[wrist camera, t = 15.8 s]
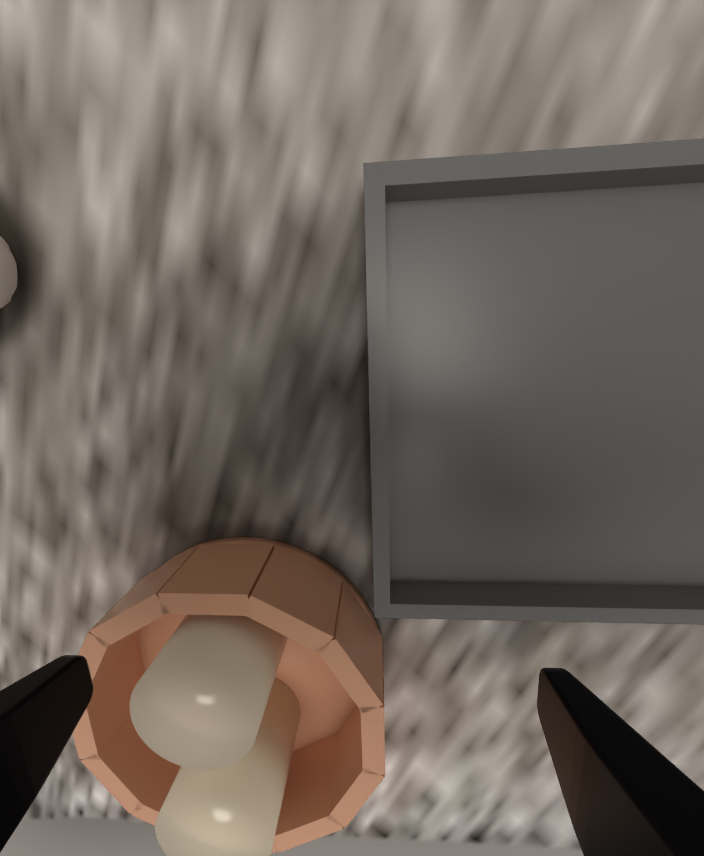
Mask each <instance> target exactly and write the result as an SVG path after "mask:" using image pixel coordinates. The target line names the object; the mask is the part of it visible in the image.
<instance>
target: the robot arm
mask: <svg viewBox="0 0 704 856" xmlns="http://www.w3.org/2000/svg"><path fill="white" fill-rule="evenodd" d="M93 689H94V687H93V682H92V678H91V674H90V670H89V666H88V662H87V660H86V658H85V657H84V656H81V655H64V656H61V657H59V658H57V659H55V660H53V661H52V662H50V663H48V664H46V665H45V666H43V667H41V668H39V669H38V670H36V671H34V672H32V673H31V674H29V675H27V676H25V677H24V678H22V679H20V680H18V681H17V682H15V683H13V684H11V685H10V686H8V687H6V688H5V689H3V690H1V691H0V852H1V851H2V849H3V847H4V846H5V844H6V843H7V841H8V840H9V838H10V837H11V835H12V834H13V832H14V831H15V829H16V828H17V826H18V824H19V823H20V821H21V820H22V818H23V817H24V815H25V814H26V812H27V811H28V809H29V807H30V806H31V804H32V803H33V801H34V799H35V798H36V796H37V795H38V793H39V791H40V789H41V788H42V786H43V784H44V783H45V781H46V779H47V777H48V776H49V774H50V772H51V770H52V769H53V767H54V765H55V763H56V761H57V760H58V758H59V756H60V754H61V753H62V751H63V749H64V747H65V745H66V744H67V742H68V740H69V738H70V737H71V735H72V733H73V731H74V730H75V728H76V726H77V724H78V722H79V721H80V719H81V717H82V715H83V714H84V712H85V710H86V708H87V706H88V705H89V703H90V701H91V698H92V695H93ZM537 709H538V714H539V719H540V722H541V725H542V729H543V732H544V735H545V738H546V741H547V745H548V748H549V751H550V754H551V758H552V761H553V764H554V767H555V770H556V774H557V777H558V780H559V783H560V787H561V790H562V793H563V796H564V799H565V803H566V806H567V809H568V812H569V815H570V818H571V821H572V824H573V827H574V830H575V833H576V836H577V838H578V841H579V844H580V846H581V849H582V852H583V854H584V856H704V791H703V790H702V789H701V788H700V787H699V786H697V785H696V784H695V783H694V782H693V781H692V780H691V779H689V778H688V777H687V776H686V775H685V774H684V773H683V772H682V771H680V770H679V769H678V768H677V767H676V766H675V765H674V764H672V763H671V762H670V761H669V760H668V759H667V758H666V757H665V756H663V755H662V754H661V753H660V752H659V751H658V750H657V749H656V748H654V747H653V746H652V745H651V744H650V743H649V742H648V741H646V740H645V739H644V738H643V737H642V736H641V735H640V734H639V733H637V732H636V731H635V730H634V729H633V728H632V727H631V726H629V725H628V724H627V723H626V722H625V721H624V720H623V719H622V718H620V717H619V716H618V715H617V714H616V713H615V712H614V711H613V710H611V709H610V708H609V707H608V706H607V705H606V704H605V703H603V702H602V701H601V700H600V699H599V698H598V697H597V696H596V695H594V694H593V693H592V692H591V691H590V690H589V689H588V688H586V687H585V686H584V685H583V684H582V683H581V682H580V681H579V680H577V679H576V678H575V677H574V676H573V675H572V674H571V673H569V672H568V671H567V670H565V669H562V668H542V669H541V671H540V674H539V685H538V698H537Z"/></svg>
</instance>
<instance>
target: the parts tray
mask: <svg viewBox="0 0 704 856" xmlns="http://www.w3.org/2000/svg"><path fill="white" fill-rule="evenodd" d="M363 164H364V206H365V248H366V289H367V331H368V373H369V415H370V457H371V498H372V540H373V582H374V618H414V619H462V620H509V621H557V622H605V623H652V624H700V625H704V139H692V140H678V141H664V142H650V143H636V144H623V145H609V146H595V147H581V148H567V149H554V150H540V151H526V152H512V153H498V154H484V155H471V156H457V157H443V158H429V159H415V160H402V161H388V162H374V163H363Z"/></svg>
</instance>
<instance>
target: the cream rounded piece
mask: <svg viewBox="0 0 704 856" xmlns="http://www.w3.org/2000/svg"><path fill="white" fill-rule="evenodd" d="M300 714H301V712H300V704H299V702H298V699H297V697H296V695H295V694H294V692H293V691H292V690H291V689H290V688H289V686H287V685H286V684H285V683H284V682H282V681H281V680H279V679H278V678H276V677H275V679H274V683H273V686H272V689H271V692H270V695H269V698H268V701H267V705H266V708H265V711H264V714H263V717H262V720H261V723H260V727H259V730H258V733H257V736H256V739H255V742H254V744H253V746H252V748H251V749H250V751H249V752H248V753H247V754H246V755H245V756H244V757H243V758H242V759H240V760H239V761H238V762H236V763H234V764H232V765H230V766H227V767H224V768H220V769H213V770H198V769H191V768H186V767H183V766H181V767H180V769H179V772H178V774H177V776H176V778H175V780H174V782H173V784H172V786H171V789H170V791H169V793H168V795H167V797H166V799H165V801H164V803H163V806H162V808H161V810H160V812H159V814H158V816H157V819H156V824H155V831H156V836H157V839H158V842H159V844H160V846H161V848H162V849H163V851H164V852H165V853H166V854H167V856H270V855H271V852H272V847H273V842H274V838H275V833H276V828H277V823H278V819H279V814H280V809H281V805H282V800H283V795H284V791H285V786H286V781H287V777H288V772H289V767H290V762H291V758H292V753H293V748H294V744H295V739H296V734H297V730H298V725H299V720H300Z"/></svg>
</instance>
